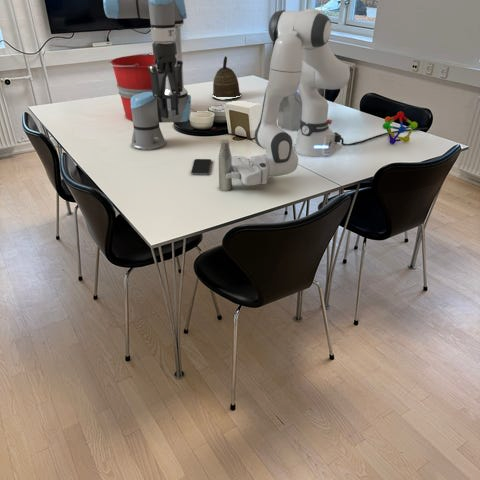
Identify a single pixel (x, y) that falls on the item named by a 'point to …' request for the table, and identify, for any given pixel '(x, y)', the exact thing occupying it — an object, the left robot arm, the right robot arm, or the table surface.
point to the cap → (171, 112)
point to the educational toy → (398, 128)
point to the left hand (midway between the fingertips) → (169, 115)
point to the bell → (225, 82)
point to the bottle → (225, 166)
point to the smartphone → (201, 166)
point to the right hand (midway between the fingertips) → (223, 172)
